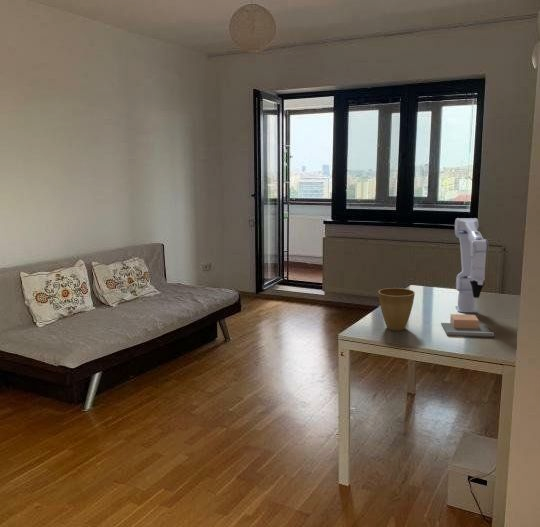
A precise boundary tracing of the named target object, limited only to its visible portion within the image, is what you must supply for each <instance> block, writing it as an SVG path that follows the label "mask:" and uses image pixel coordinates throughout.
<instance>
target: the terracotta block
mask: <svg viewBox="0 0 540 527" xmlns="http://www.w3.org/2000/svg"><path fill="white" fill-rule="evenodd" d="M449 321H450V322H449V323H451V324H452V326H453V328H475V329H478V326H479V324H480V323H479V322H480V320H479V319H478V317H477V316H476V315H475V314H459V313H457V314H455V313H450V320H449Z"/></svg>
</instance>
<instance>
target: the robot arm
mask: <svg viewBox="0 0 540 527" xmlns="http://www.w3.org/2000/svg"><path fill="white" fill-rule="evenodd" d="M454 220H455V221H454V234H455V237H456V238H458V240H459V245H460V262H461V271H460V272H459V273H458V274H457V275H456V278H455V280H456V281H455V288H456V291H458V292H459V293H458V296H457V305H455V308H456V309H457V311H458V312H459V313H475V314H476V313H478V312H477V310H476V298H477V299H478V298H480V295H481V292H482V289H483V288H484V286H485V282H484V281H485V280H486V278H485V275H486V261H487V260H486V258H487V253H488V252H489V241H488V239H485V238H484V237H483V236H482V233H481V232H480V230H479V227H480V226H479V219H478V218H476V217H473V218H472V217H470V218H465V217H463V218H462V217H461V218H459V217H457V218H455V219H454Z"/></svg>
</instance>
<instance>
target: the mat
mask: <svg viewBox="0 0 540 527" xmlns="http://www.w3.org/2000/svg"><path fill="white" fill-rule="evenodd" d="M440 325H441V327H442V329H443V331H444V332H445V335H446V336H447V337H467V338H468V337H469V338H470V337H471V338H492V339H493V338H495V332H494V331H493V332H491V330H490V329H489V328H488V327H487V325H486V324H485V323H479V326H478V329H475V328H453V326H452V324H451V323H450V322H441V323H440Z"/></svg>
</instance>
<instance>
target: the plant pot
mask: <svg viewBox="0 0 540 527" xmlns="http://www.w3.org/2000/svg"><path fill="white" fill-rule="evenodd" d="M415 294H416V293H415V291H414V290H412V289H409V288H401V287H391V288H390V287H387V288H383V289H380V290H378V299H379V305H380V309H381V315H382V317H383V320H384V323H385V326H386V328H387V329H388V330H390V331H395V332H396V331H403V330H405V329H406V326H407V325H408V322H409V319H410V316H411V312H412V308H413V304H414V300H415Z"/></svg>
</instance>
